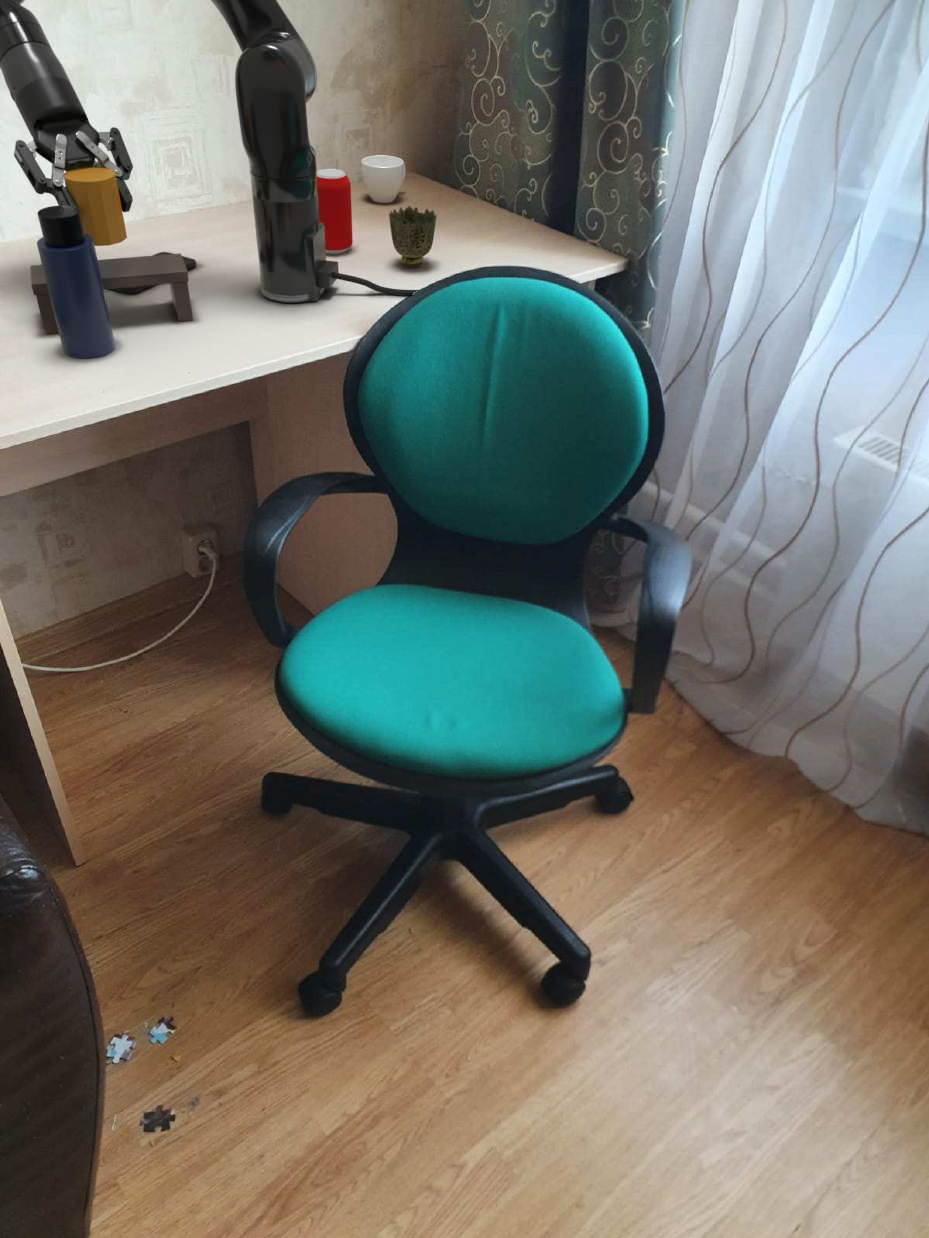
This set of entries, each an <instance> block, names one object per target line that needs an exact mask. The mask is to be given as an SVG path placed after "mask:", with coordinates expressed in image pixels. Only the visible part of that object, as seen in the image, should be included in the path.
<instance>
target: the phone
mask: <svg viewBox="0 0 929 1238" xmlns="http://www.w3.org/2000/svg"><path fill="white" fill-rule="evenodd" d="M167 254H174V253H172V252H169V251H159V252H158V253H155V254H152V255H151V256H154V255H167ZM182 258H183V261H184V264H185V266H186V269H187V271H188V270H190V269H193V268H195V267H196V266H197V260H196V259H194V258H191V257H188V256H184V255H182ZM151 286H153V285H145V286H134V287H123V288H112V290H115V291H119V292H123V293H127V294H135V293H138V292H140V291H142V290H145V289H147V288H149V287H151Z"/></svg>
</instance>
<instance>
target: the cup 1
mask: <svg viewBox="0 0 929 1238" xmlns="http://www.w3.org/2000/svg"><path fill="white" fill-rule="evenodd" d="M360 164H361V165H360V166H361V178H362V182H363V185H364V188H365V190H366V192H367V194H368V195H369V197H370V199H371V200H372V202H374V203H379V204H387V203H388V204H389V203H393V202H394V201H395V199H396V198H397V196H398V195H399V193H400V191H401V188H402V185H403V183H404V180H405V178H406V172H407V171H406V165H405V161H404V160H403V159H402V158H400V157H397V156H393V155H385V154H383V155H382V154H377V155H370V156H365V157H363V158H362V159H361V163H360Z"/></svg>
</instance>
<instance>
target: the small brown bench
mask: <svg viewBox="0 0 929 1238" xmlns="http://www.w3.org/2000/svg"><path fill="white" fill-rule="evenodd" d="M153 255H154V256H152V255H144V256H132V257H119V258H117V257H116V258H107V259H98V264H99V269H100V274H101V279H102V283H103V288H104V290H109V289H112V288H123V287H134V286H145V285H152V286H155V285H165V284H169V289H170V295H171V300H172V304H173V307H174V311H175V314H176V318H177V321H178V322H180V323H181V322H189V321H194V316H193V309H192V302H191V296H190V289H189V284H188V283H189V282H190V280H189V273H188V270H187V269H186V266H185V264H184V261H183V258H182V256H183V255H182V253H173V254H167V255H155V254H153ZM30 283H31V289H32V293H33V295H34V296H35V298H36V301H37V306H38V309H39V314H40V317H41V321H42V325H43V330H44V333H45V335H46V336H50V335H51V336H52V335H59V331H58V327H57V323H56V319H55V315H54V311H53V307H52V303H51V299H50V295H49V291H48V287H47V283H46V279H45V275H44V271H43V267H42V264H31V265H30ZM112 290H113V289H112Z"/></svg>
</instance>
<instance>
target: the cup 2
mask: <svg viewBox="0 0 929 1238" xmlns="http://www.w3.org/2000/svg"><path fill="white" fill-rule="evenodd" d="M388 217H389V226H390V233H391V234H390V235H391V239H392V240H391V241H392V244H393V248H394V250H395V251H396V252H397V254H398V255H400V256H401V258H400V261H401V263H402V265H403V266H405V267H408V268H418V267H421V266H422V265H423V264H424V261H425V256H426V255H427V254H429V252H430V251H431V250H432V246H433V244H434V238H435V231H436V222H437V214H436V213H435V211H434V210H429V209H428V208H425V210H424V212H419V210H418V207H416V206H415V207H414V208H413V207H412V206H410V205H408V206H406V207H405V209H404V210H403V208H402V207H399V209H398V211H397V210H396V209H395V208H394V209H393V211H392V210H390V212H389V213H388Z"/></svg>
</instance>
